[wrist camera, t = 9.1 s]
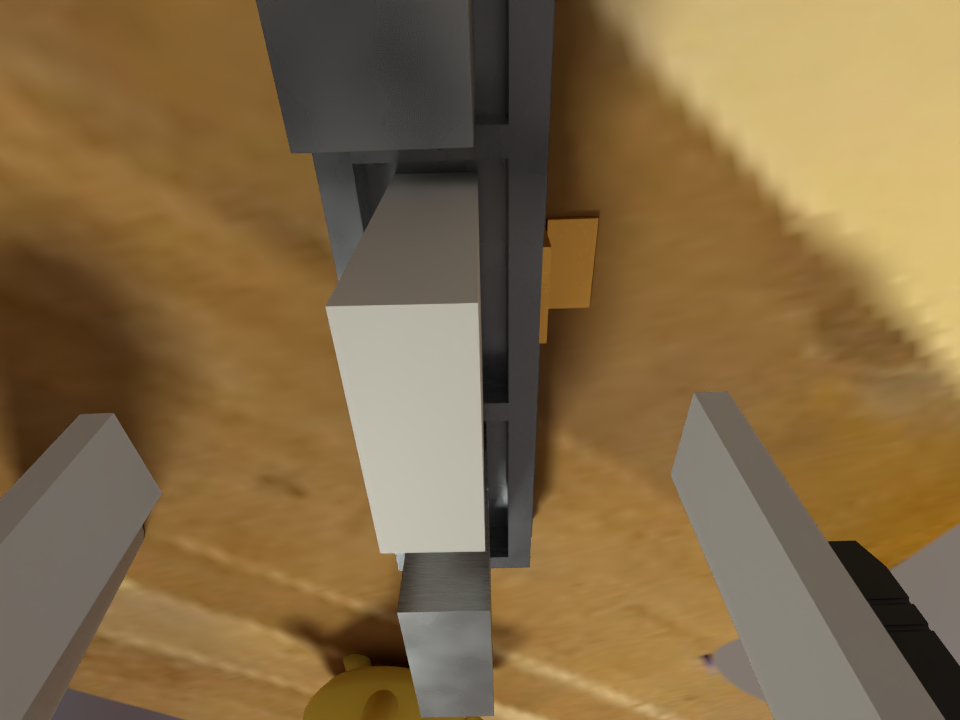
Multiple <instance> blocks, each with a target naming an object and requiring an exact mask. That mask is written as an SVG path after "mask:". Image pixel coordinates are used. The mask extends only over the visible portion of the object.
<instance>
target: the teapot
mask: <svg viewBox="0 0 960 720" xmlns="http://www.w3.org/2000/svg"><path fill="white" fill-rule="evenodd" d="M343 663H344V666H345V670H346V672H343V673H341V674H339V675H337V676H335V677H334V678H332V679H331V680H330V681H329V682H328V683H326V684H325V685H324V686H323V687H322V688H321V689H320V690H319V691H318V692H317V693H316V694H315V695H314V696H313V697H312V698H311V699H310V701H309V703H308V705H307V706H306V708H305V711H304V716H303V720H483V719H482V718H480V717H479V716H469V717H421V714H420V710H419V705H418V701H417V697H416V692H415V688H414V684H413V679H412V675H411V671H410V666H409V668H403V667H395V666H371V661H370V659H369V658H368V657H366V656H364V655H360V654H350V655H347V656H345V657H344V658H343Z"/></svg>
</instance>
